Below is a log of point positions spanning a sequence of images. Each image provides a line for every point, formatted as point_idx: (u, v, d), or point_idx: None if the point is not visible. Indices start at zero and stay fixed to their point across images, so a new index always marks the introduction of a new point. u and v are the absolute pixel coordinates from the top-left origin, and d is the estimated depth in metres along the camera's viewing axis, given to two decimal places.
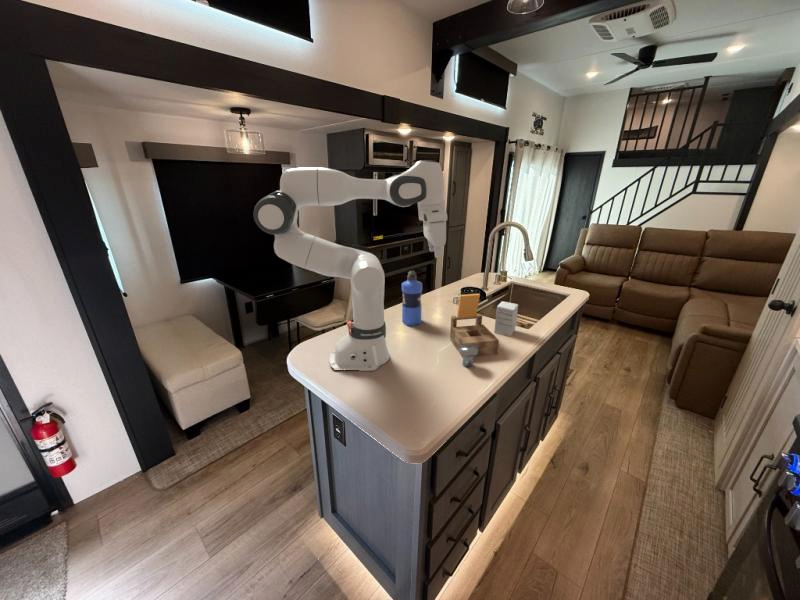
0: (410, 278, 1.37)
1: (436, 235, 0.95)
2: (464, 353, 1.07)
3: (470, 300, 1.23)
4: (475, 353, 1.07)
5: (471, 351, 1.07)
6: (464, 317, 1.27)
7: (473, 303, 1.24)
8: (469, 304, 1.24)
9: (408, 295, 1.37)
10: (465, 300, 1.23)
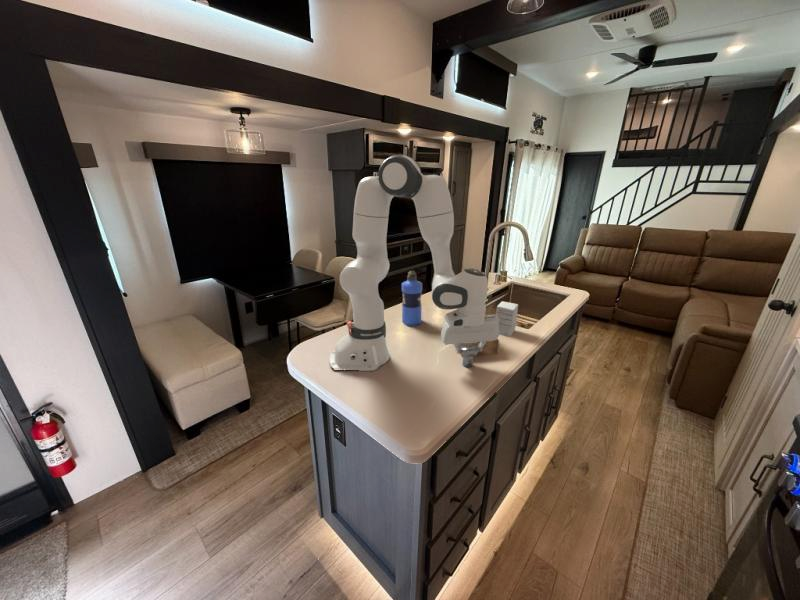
0: (410, 278, 1.37)
1: (441, 332, 1.06)
2: (464, 353, 1.07)
3: None
4: (475, 353, 1.07)
5: (471, 351, 1.07)
6: None
7: None
8: None
9: (408, 295, 1.37)
10: None
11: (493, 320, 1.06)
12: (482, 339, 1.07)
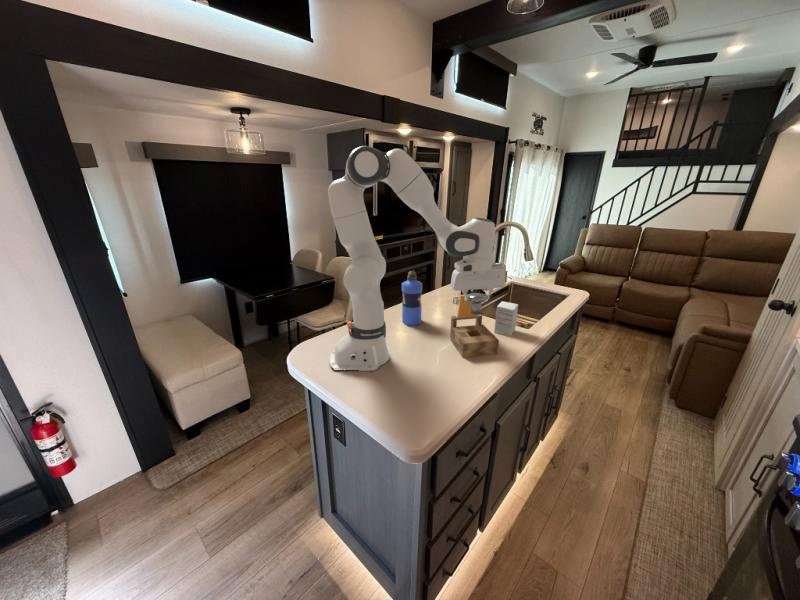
0: (410, 278, 1.37)
1: (451, 279, 1.13)
2: (473, 299, 1.14)
3: None
4: (483, 299, 1.14)
5: (479, 297, 1.14)
6: (464, 317, 1.27)
7: None
8: (469, 304, 1.24)
9: (408, 295, 1.37)
10: None
11: (500, 268, 1.12)
12: (489, 286, 1.13)
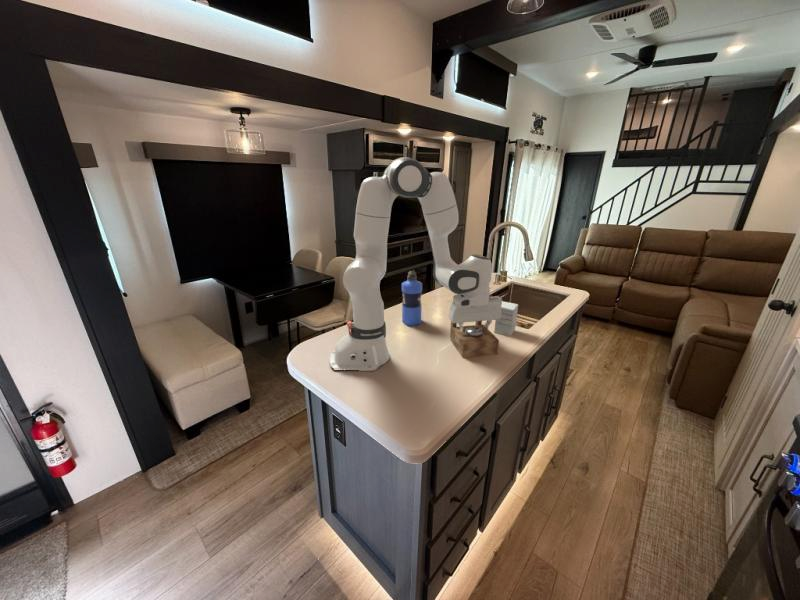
0: (410, 278, 1.37)
1: (450, 312, 1.18)
2: (470, 334, 1.19)
3: None
4: (480, 334, 1.19)
5: (476, 332, 1.19)
6: None
7: None
8: None
9: (408, 295, 1.37)
10: None
11: (496, 301, 1.17)
12: (486, 318, 1.18)
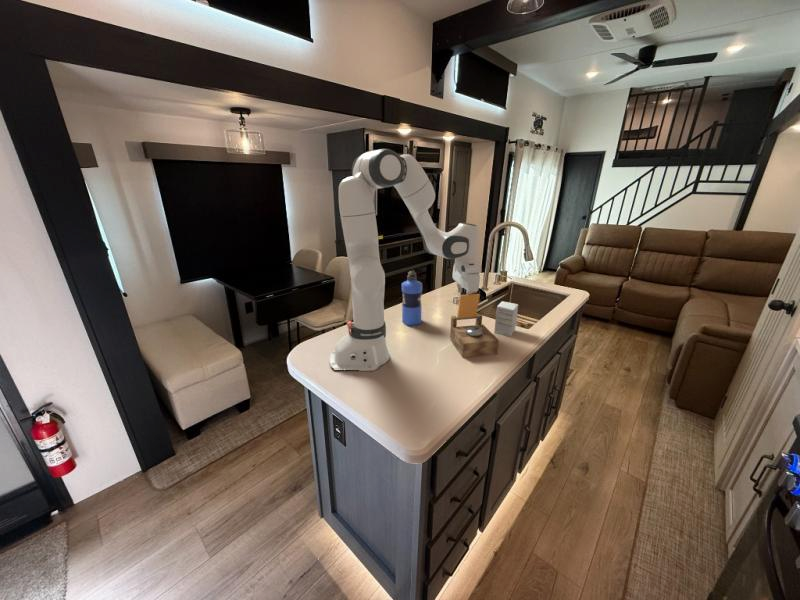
0: (410, 278, 1.37)
1: (471, 284, 1.17)
2: (470, 334, 1.19)
3: (470, 300, 1.23)
4: (480, 334, 1.19)
5: (476, 332, 1.19)
6: (464, 317, 1.27)
7: (473, 303, 1.24)
8: (469, 304, 1.24)
9: (408, 295, 1.37)
10: (465, 300, 1.23)
11: None
12: None
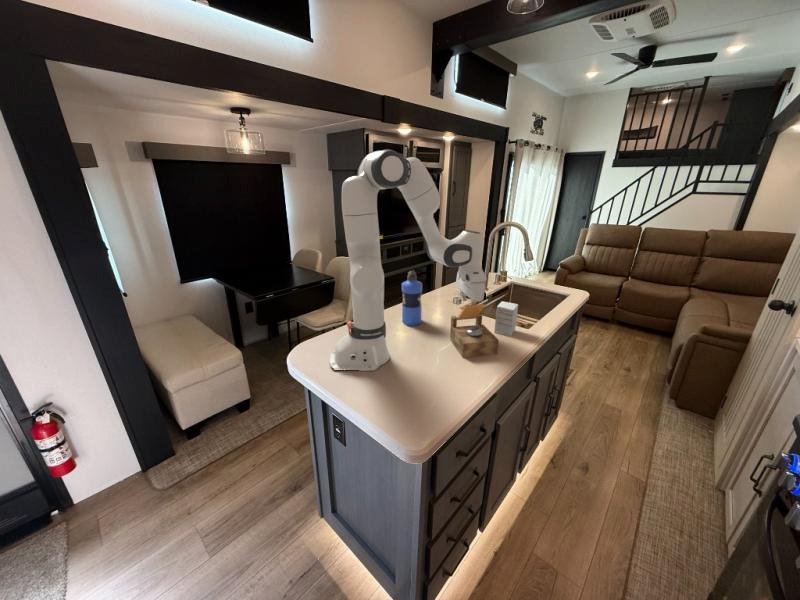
0: (410, 278, 1.37)
1: (476, 293, 1.14)
2: (470, 334, 1.19)
3: (474, 309, 1.20)
4: (480, 334, 1.19)
5: (476, 332, 1.19)
6: (464, 318, 1.27)
7: (476, 311, 1.22)
8: (472, 311, 1.22)
9: (408, 295, 1.37)
10: (469, 309, 1.20)
11: None
12: None
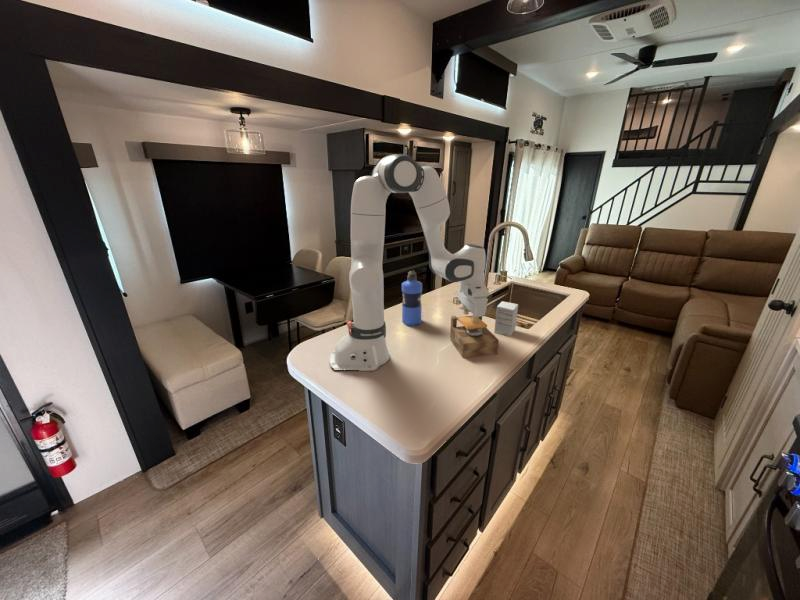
0: (410, 278, 1.37)
1: (478, 308, 1.13)
2: (470, 334, 1.19)
3: None
4: (480, 334, 1.19)
5: (476, 332, 1.19)
6: None
7: None
8: None
9: (408, 295, 1.37)
10: None
11: None
12: None
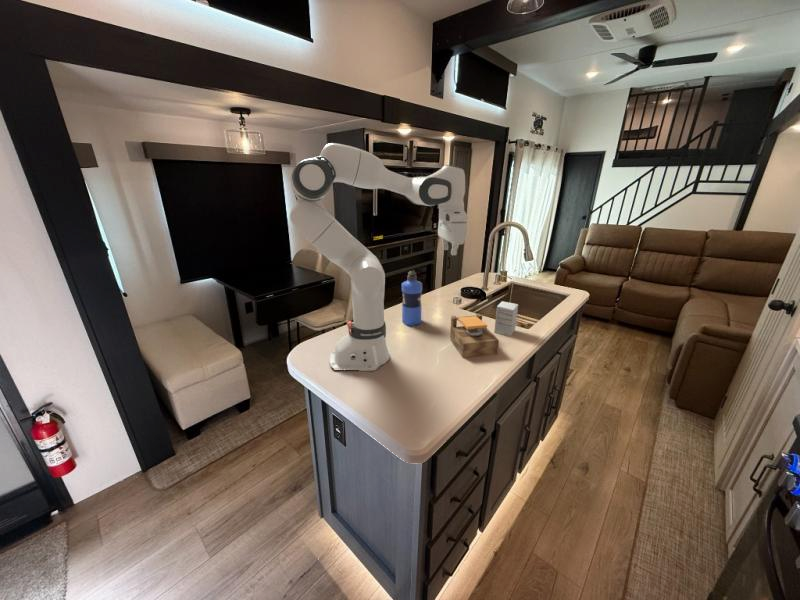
0: (410, 278, 1.37)
1: (456, 234, 1.04)
2: (470, 334, 1.19)
3: None
4: (480, 334, 1.19)
5: (476, 332, 1.19)
6: None
7: None
8: None
9: (408, 295, 1.37)
10: None
11: None
12: None
